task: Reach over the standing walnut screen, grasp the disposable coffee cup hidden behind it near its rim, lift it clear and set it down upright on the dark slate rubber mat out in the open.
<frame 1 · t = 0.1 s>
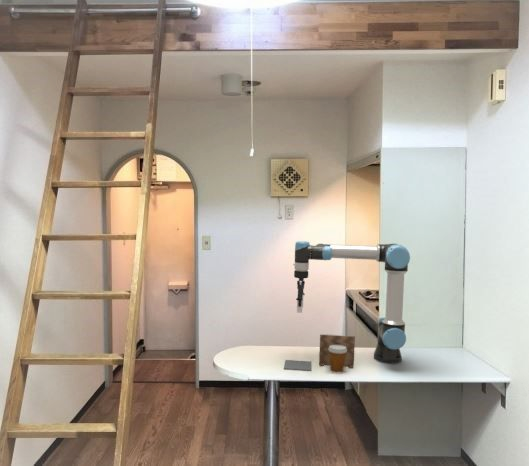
hand: (300, 309, 260), 28 cm above the table, fingers open, 13 cm apart
toilet tissue: (329, 354, 277), on the table
screen: (336, 365, 256), on the table
mat: (297, 365, 254), on the table
disposable coffee cup: (336, 370, 249), on the table
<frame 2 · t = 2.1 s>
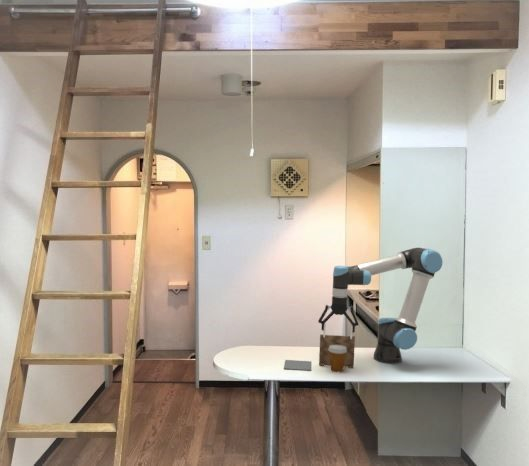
hand: (337, 337, 248), 17 cm above the table, fingers open, 13 cm apart
nothing on the table moved.
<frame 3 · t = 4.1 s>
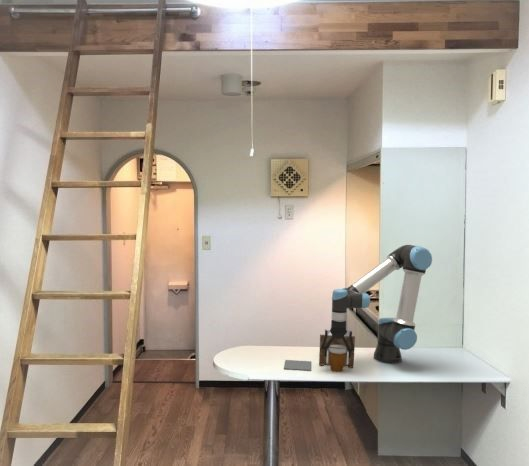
hand: (337, 363, 249), 4 cm above the table, fingers closed on disposable coffee cup, 9 cm apart
disposable coffee cup: (336, 370, 249), on the table, touching gripper
everything else where it was.
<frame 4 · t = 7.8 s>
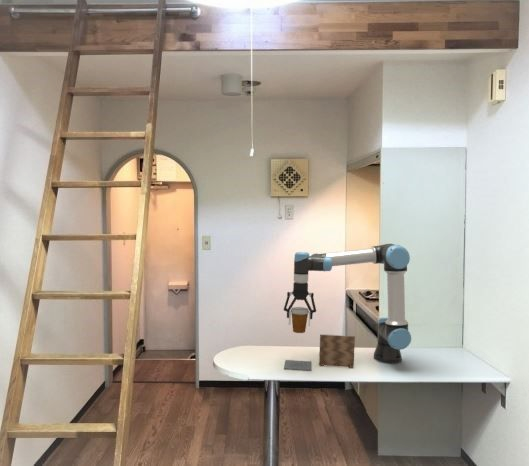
hand: (299, 324, 253), 22 cm above the table, fingers closed on disposable coffee cup, 9 cm apart
disposable coffee cup: (299, 332, 253), point 18 cm above the table, touching gripper
everything else where it was.
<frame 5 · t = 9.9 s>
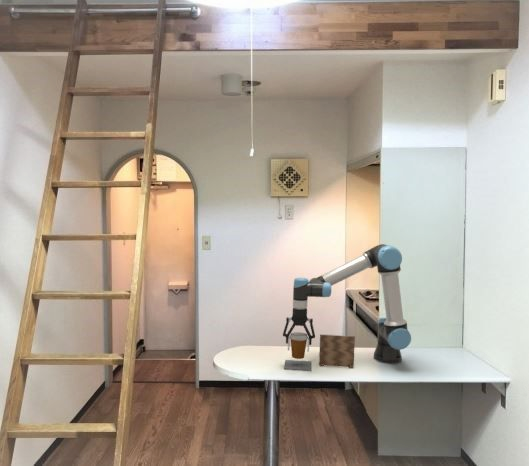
hand: (298, 350, 254), 8 cm above the table, fingers closed on disposable coffee cup, 9 cm apart
disposable coffee cup: (298, 357, 254), point 4 cm above the table, touching gripper
everything else where it was.
when the fingers open (5 cm above the table, at t = 11.7 s): disposable coffee cup stays where it is, resting on mat.
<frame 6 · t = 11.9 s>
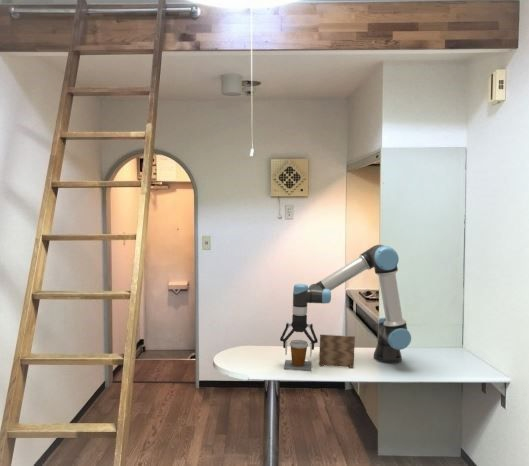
hand: (298, 355, 254), 6 cm above the table, fingers open, 12 cm apart
disposable coffee cup: (298, 365, 254), resting on mat
everything else where it was.
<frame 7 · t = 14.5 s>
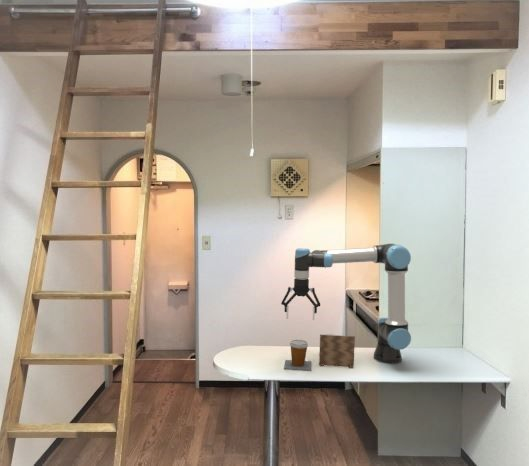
hand: (300, 318, 253), 25 cm above the table, fingers open, 13 cm apart
nothing on the table moved.
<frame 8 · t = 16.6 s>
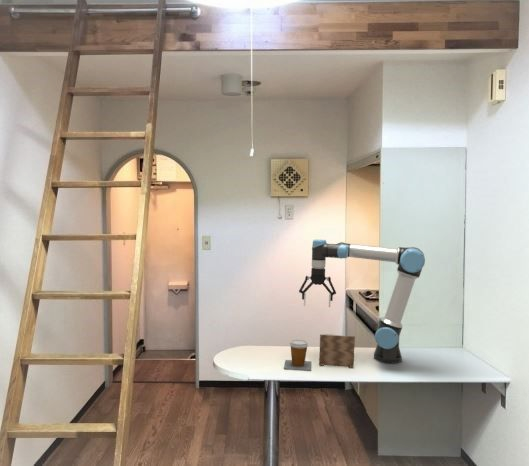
hand: (316, 306, 268), 29 cm above the table, fingers open, 13 cm apart
nothing on the table moved.
at the end: disposable coffee cup 0.1 cm from the mat (horizontally); disposable coffee cup tilted 0°; disposable coffee cup resting on mat; disposable coffee cup touching mat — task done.
